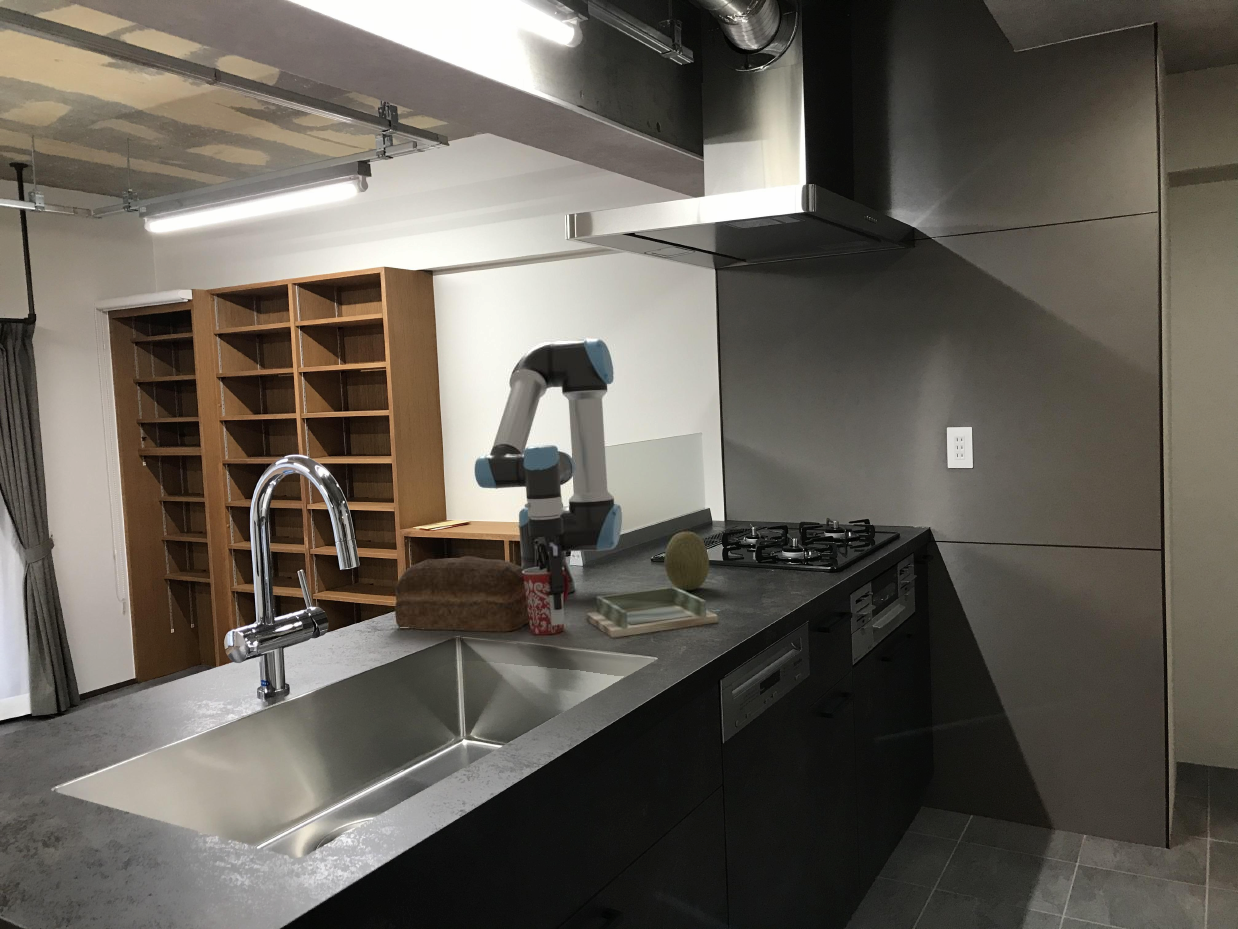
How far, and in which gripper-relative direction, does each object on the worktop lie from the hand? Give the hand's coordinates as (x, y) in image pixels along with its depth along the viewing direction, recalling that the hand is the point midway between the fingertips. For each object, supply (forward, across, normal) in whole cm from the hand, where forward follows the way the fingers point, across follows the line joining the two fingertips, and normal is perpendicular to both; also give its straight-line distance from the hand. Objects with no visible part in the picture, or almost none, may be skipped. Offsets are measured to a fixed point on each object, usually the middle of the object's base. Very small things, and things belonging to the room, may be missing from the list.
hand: (552, 619), depth 207 cm
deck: (+2, +5, +21) cm, 22 cm away
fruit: (+2, -21, +41) cm, 46 cm away
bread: (+2, -17, -16) cm, 23 cm away
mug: (+2, 0, 0) cm, 2 cm away
